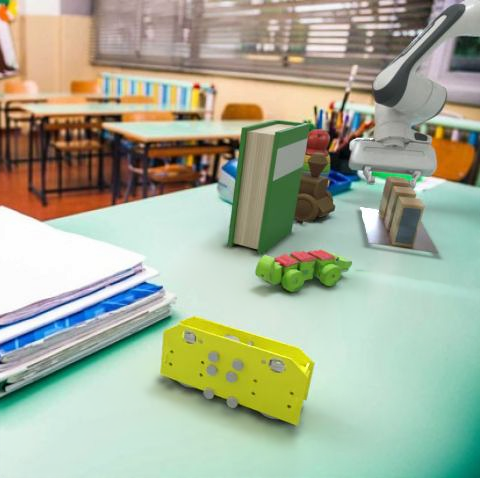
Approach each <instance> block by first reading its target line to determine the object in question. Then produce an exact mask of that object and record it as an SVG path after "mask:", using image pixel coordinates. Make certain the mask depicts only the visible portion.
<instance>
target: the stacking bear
mask: <svg viewBox="0 0 480 478" xmlns="http://www.w3.org/2000/svg"><path fill="white" fill-rule="evenodd" d="M330 141H331V136H330V134H329V132H327V131H326V130H323V129H322V128H319V129H317V128H316V129H312V130H309V134H308V140H307V146H306V151H305V157H304V163H303V169H302V172H303V173H308V174H311V172H310V168H309V165H308V159H309V158H310V157H311V156H312V155H313V154H314V153H324V154H325V155H326V158H327V160H328V164H327V165H326V167H325V168H324V170H323V171H322V173H321V174H320V175H319V176H322V177H326V178H329V176H330V171H331V156H330V154H329V152H328V150H327V148H328V147H329V145H330Z"/></svg>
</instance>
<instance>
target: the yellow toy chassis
mask: <svg viewBox="0 0 480 478" xmlns="http://www.w3.org/2000/svg"><path fill="white" fill-rule="evenodd" d="M160 360H161V361H160V373H159V375H161V376H163V377H166V378H168V379H171V380H174V381H176V382H178V383H179V384H180V385H182V386H183V387H186V388H189V389H198V390H201V391H203V396H204V397H205V398H206V399H207V400H212V399H213V398H214V396H217V397H220V398H222V399H224V400H226V404H227V406H228V407H230V408H232V409H235V408H237V406H238V405H241V406H243V407H246V408H249V409H252V410H254V411H257V412H259V413H260V415H262V416H264V417H266V418H268V419H270V420H271V419H272V420H281V421H284V422H287V423H288V424H292V425H295V426H299V422H300V419H301V418H300V417H301V413H302V409H303V405H304V401H307V400H308V396H309V391H310V388H311V387H310V386H311V381H312V377H313V372H314V367H315V362H314V360H313V359H312V358H311V357H310V356H308V354H306V353H305V351H303V350H302V348H300V346H296V345H293V344H289V343H286V342H282V341H280V340H277V339H273V338H269V337H265V336H262V335H259V334H256V333H253V332H249V331H246V330H243V329H240V328H236V327H233V326H230V325H226V324H222V323H219V322H217V321H214V320H209V319H206V318H204V317H200V316H197V315H194V316H191V317H187V318H185V319H182V320H179V322H178V324H175V325H173V326H171V327H169V328H166V329H164V330H163V336H162V348H161V359H160Z"/></svg>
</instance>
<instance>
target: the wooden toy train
mask: <svg viewBox="0 0 480 478" xmlns="http://www.w3.org/2000/svg"><path fill="white" fill-rule="evenodd" d="M327 164H328V160H327V158H326V155H325V154H324V153H314V154H313V155H312V156H311V157H310V158H309V159H308V165H309V168H310V172H311V174H308V173H303V172H302V174H301V180H300V186H299V192H298V198H297V203H296V209H295V215H294V220H295V221H297V222H300V223H304V222H306V223H310V222H313V221H314V220H316V218H317V217H319V218H320V217H321V218H323V217H325V216H326V215H329V214H331V213H333V212H335V209H336V205H335V203H334V198H333V195H332V193H331V192H330V191H329V190H328V186H329V179H330V178H329V177H328V178H326V177H322V176H319V175H320V174H321V173H322V171H323V170H324V168H325V167H326V165H327Z"/></svg>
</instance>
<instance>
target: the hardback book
mask: <svg viewBox="0 0 480 478" xmlns="http://www.w3.org/2000/svg"><path fill="white" fill-rule="evenodd" d="M310 128H311V123H309V122H300V121H293V120H291V121H290V120H283V119H282V120H281V119H273V120H269V121H264V122H260V123H256V124H251V125H246V126H243V127H241V131H240V140H239V147H238V154H237V155H238V156H237V164H236V171H235V180H234V189H233V194H232V202H231V203H232V204H231V212H230V221H229V227H228V228H229V229H228V235H227V236H228V237H227V242H226V243H227V244H226V246H227V247H231V248H232V247H234V245H239V246H244V247H247V248H251V249H255V250H257V252H256V255H261V256H263V255H265V253H267V251H269V250H270V249H272V248H273V247H274V246H276V245H277V244H278V243H279V242H281V241H282V240H283V239H285V238H286V237H287V236H289V235H290V234H291V233H292V232H293V227H294V220H295V219H294V215H295V209H296V203H297V198H298V192H299V186H300V180H301V174H302V169H303V163H304V157H305V151H306V146H307V140H308V134H309V132H310Z"/></svg>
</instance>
